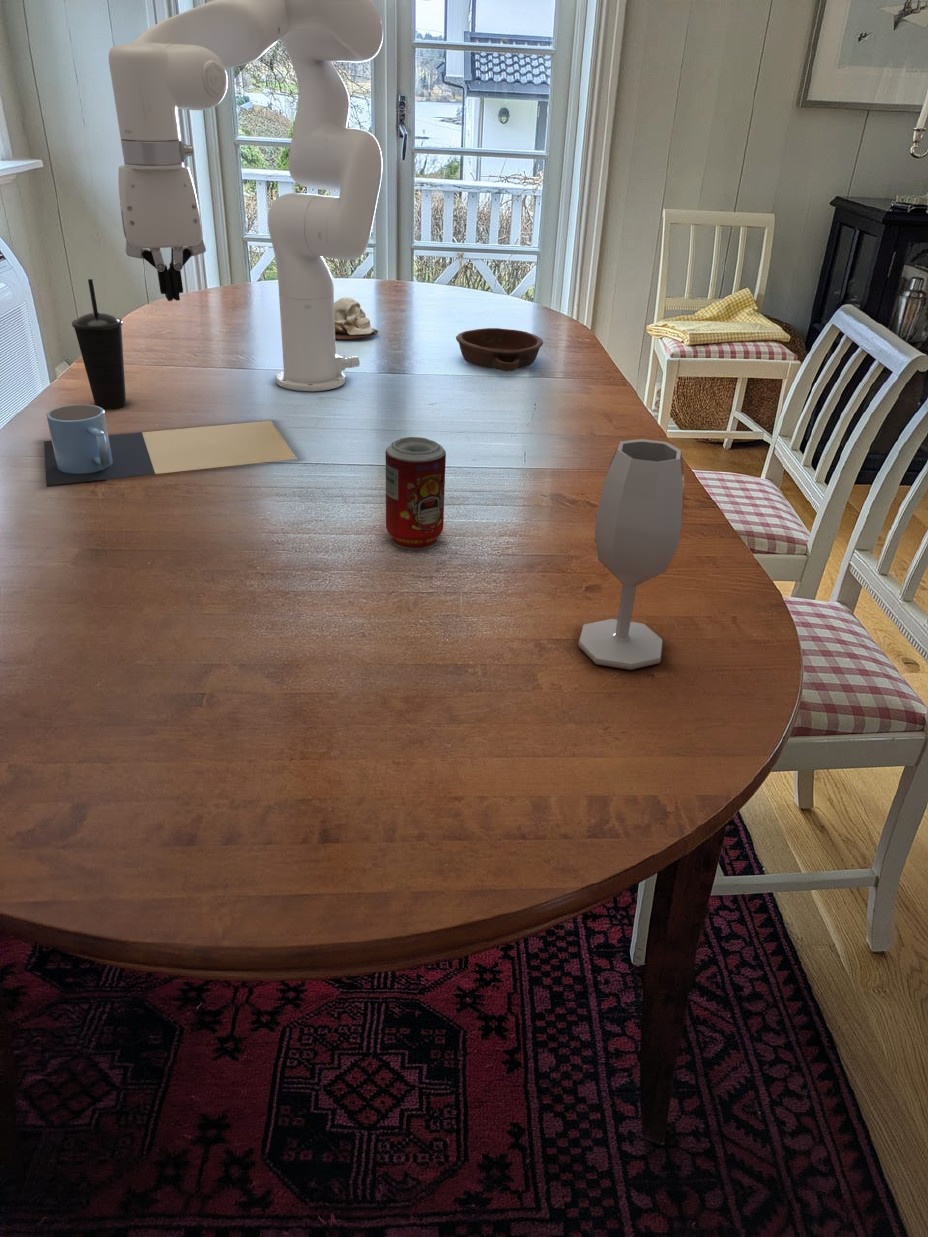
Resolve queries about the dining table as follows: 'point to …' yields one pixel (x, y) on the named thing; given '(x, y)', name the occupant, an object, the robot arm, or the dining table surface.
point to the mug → (80, 438)
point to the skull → (351, 320)
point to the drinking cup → (102, 355)
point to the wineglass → (635, 544)
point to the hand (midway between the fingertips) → (172, 298)
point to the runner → (180, 451)
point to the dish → (499, 348)
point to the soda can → (415, 492)
